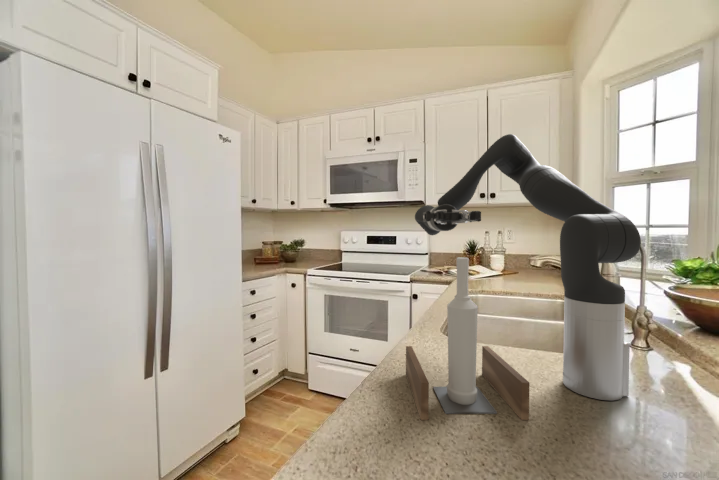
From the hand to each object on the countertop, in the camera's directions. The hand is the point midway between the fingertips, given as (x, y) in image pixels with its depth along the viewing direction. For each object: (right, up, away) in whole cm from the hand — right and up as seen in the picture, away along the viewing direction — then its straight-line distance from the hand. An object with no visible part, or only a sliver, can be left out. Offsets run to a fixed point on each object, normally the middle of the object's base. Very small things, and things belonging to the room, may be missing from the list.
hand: (459, 215), depth 76 cm
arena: (-6, -34, -18) cm, 39 cm away
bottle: (-6, -34, -20) cm, 40 cm away
